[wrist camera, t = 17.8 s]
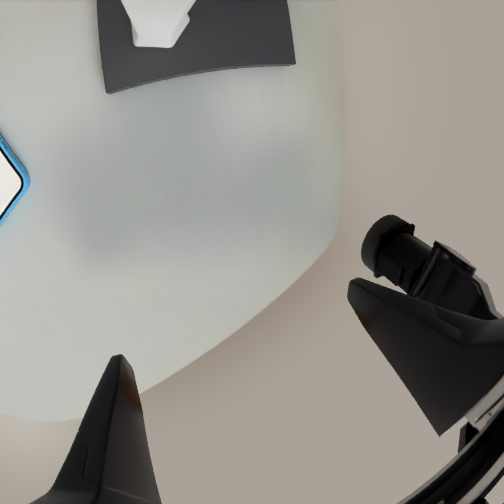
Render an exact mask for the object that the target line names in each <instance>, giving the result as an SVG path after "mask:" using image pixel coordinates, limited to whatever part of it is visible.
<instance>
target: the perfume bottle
mask: <svg viewBox="0 0 504 504" xmlns="http://www.w3.org/2000/svg"><path fill="white" fill-rule="evenodd" d="M195 1H196V0H121V2H122V4H123V6H124V8H125V10H126V12H127V14H128V16H129V18H130V20H131V26H132V35H133V43H134V45H135V46H138V47H162V48H171V47H173V46H174V44H175V43H176V41H177V39H178V38H179V36H180V35H181V33H182V32H183V30H184V29H185V27H186V26H187V24H188V23H189V21H190V18H189V16H188V14H187V13H188V12H189V10H190V9H191V7H192V6H193V4H194V3H195Z"/></svg>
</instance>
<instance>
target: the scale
mask: <svg viewBox="0 0 504 504" xmlns="http://www.w3.org/2000/svg"><path fill="white" fill-rule="evenodd" d="M97 13H98V29H99V41H100V51H101V60H102V68H103V75H104V82H105V88H106V93H108V94H112V93H115V92H118V91H122V90H125V89H129V88H132V87H136V86H140V85H143V84H147V83H152V82H156V81H160V80H165V79H169V78H174V77H179V76H185V75H191V74H197V73H203V72H210V71H218V70H226V69H236V68H248V67H265V66H290V65H295V64H296V61H295V53H294V45H293V37H292V30H291V23H290V16H289V10H288V4H287V0H196V1H195V3H194V4H193V6H192V7H191V9H190V10H189V12H188V13H187V14H188V16H189V18H190V21H189V23H188V24H187V26H186V27H185V29H184V30H183V32H182V33H181V35H180V36H179V38H178V39H177V41H176V43H175V44H174V46H173V47H171V48H162V47H138V46H135V45H134V43H133V35H132V26H131V20H130V18H129V16H128V14H127V12H126V10H125V8H124V6H123V4H122V2H121V0H97Z"/></svg>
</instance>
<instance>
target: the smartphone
mask: <svg viewBox="0 0 504 504" xmlns="http://www.w3.org/2000/svg"><path fill="white" fill-rule="evenodd" d="M29 182H30V179H29V174H28V172H27V171H26V169H25V168H24V167H23V165H22V164H21V163H20V161H19V160H18V158H17V157H16V156H15V154H14V153H13V152H12V150H11V149H10V147H9V146H8V144H7V143H6V142H5V140H4V139H3V137H2V136H1V134H0V226H1V224H2V223H3V221H4V220H5V218H6V217H7V215H8V214H9V213H10V211H11V210H12V209H13V207H14V206H15V204H16V203H17V202H18V200H19V199H20V198H21V197H22V195H23V194H24V193H25V192H26V190H27V189H28V186H29Z"/></svg>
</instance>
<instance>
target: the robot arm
mask: <svg viewBox="0 0 504 504" xmlns="http://www.w3.org/2000/svg"><path fill="white" fill-rule="evenodd" d="M414 231H415V225H414V224H412V223H411V224H408V225H405V226H402V227H399V228H397V229H394V230H391V231H388V232H385V233H382V234H381V235H380V238H379V245H378V252H377V258H376V264H375V270H374V277H375V278H379V277H381V276H385V277H386V278H387V279H388V280H390V281H391V282H392V283H393V284H394V285H395V286H399V287H400V288H401V289H403V290H404V291H405V292H406V293H407V295H406V294H403V293H401V292H398V291H395V290H392V289H390V288H387V287H384V286H381V285H379V284H375V283H373V282H370V281H368V280H365V279H362V278H355V279H353V280H351V281H350V282H349V287H348V294H347V298H348V301H349V303H350V304H351V306H352V308H353V309H354V311H355V313H356V315H357V316H358V318H359V320H360V321H361V323H362V325H363V326H364V328H365V329H366V331H367V332H368V334H369V335H370V337H371V338H372V339H373V341H374V342H375V343H376V345H377V346H378V347H379V349H380V350H381V352H382V353H383V354H384V356H385V357H386V359H387V360H388V362H389V363H390V364H391V366H392V367H393V368H394V370H395V371H396V373H397V374H398V376H399V377H400V379H401V380H402V381H403V383H404V384H405V386H406V387H407V388H408V390H409V392H410V393H411V394H412V396H413V398H414V399H415V400H416V402H417V404H418V405H419V407H420V408H421V410H422V411H423V413H424V414H425V416H426V417H427V419H428V420H429V422H430V423H431V425H432V426H433V428H434V430H435V431H436V432H437V434H438V435H439V437H441V436H442V435H443V434H445V433H446V432H447V431H448V430H449V429H451V428H452V427H453V426H454V425H455V424H456V423H457V422H459V421H460V420H461V419H462V418H463V417H464V416H465V417H466V418H467V420H468V422H467V423H466V424H465V425H464V426H463V427H462V428H461V429H460V438H459V447H458V454H457V455H456V456H455V457H454V458H453V459H452V460H451V461H450V462H449V463H448V464H447V465H446V466H445V467H443V468H442V469H441V470H440V471H439V472H438V473H437V474H435V475H434V476H433V477H432V478H431V479H429V480H428V481H427V482H426V483H424V484H423V485H422V486H421V487H419V488H418V489H417V490H416V491H414V492H413V493H412V494H410V495H409V496H407V497H406V498H404V499H403V500H402V501H400V502H399V503H397V504H489V503H488V502H487V501H486V499H484V497H485V496H486V495H487V494H488V493H489V492H490V491H491V490H492V488H493V487H494V486H495V485H496V484H497V482H498V481H499V480H500V479H501V478H502V476H503V475H504V317H503V316H502V315H501V314H499V313H498V312H497V311H496V309H495V305H494V302H493V299H492V296H491V293H490V291H489V287H488V285H487V284H486V283H485V282H484V281H483V280H482V279H480V278H479V277H478V276H477V275H475V274H474V273H475V271H476V268H475V267H474V266H473V265H472V264H471V263H470V262H469V261H468V260H467V259H465V258H464V257H463V256H462V255H461V254H459V253H458V252H456V251H455V250H453V249H451V248H450V247H448V246H446V245H444V244H442V243H440V242H437V241H435V242H434V244H433V245H434V246H433V248H431V247H430V246H428V245H427V244H425V243H424V242H422V241H421V240H419V239H418V238H416V237H415V236H414ZM30 504H162V503H161V499H160V496H159V492H158V488H157V484H156V480H155V476H154V472H153V467H152V462H151V458H150V453H149V447H148V442H147V436H146V431H145V425H144V418H143V411H142V406H141V402H140V398H139V394H138V389H137V385H136V381H135V376H134V372H133V369H132V367H131V365H130V364H129V363H128V361H127V360H126V358H125V357H124V356H123V355H122V354H119V355H115V356H112V357H111V359H110V361H109V363H108V365H107V367H106V369H105V371H104V373H103V375H102V377H101V380H100V382H99V384H98V386H97V388H96V390H95V393H94V395H93V397H92V399H91V401H90V404H89V406H88V408H87V411H86V413H85V415H84V418H83V420H82V423H81V425H80V427H79V430H78V432H77V434H76V437H75V439H74V442H73V444H72V447H71V449H70V451H69V453H68V455H67V458H66V460H65V462H64V464H63V466H62V468H61V470H60V472H59V474H58V476H57V478H56V480H55V483H54V484H53V486H52V488H51V489H50V490H49V492H47V493H46V494H45V495H43V496H42V497H40V498H38V499H37V500H35V501H33V502H31V503H30ZM503 504H504V503H503Z"/></svg>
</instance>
